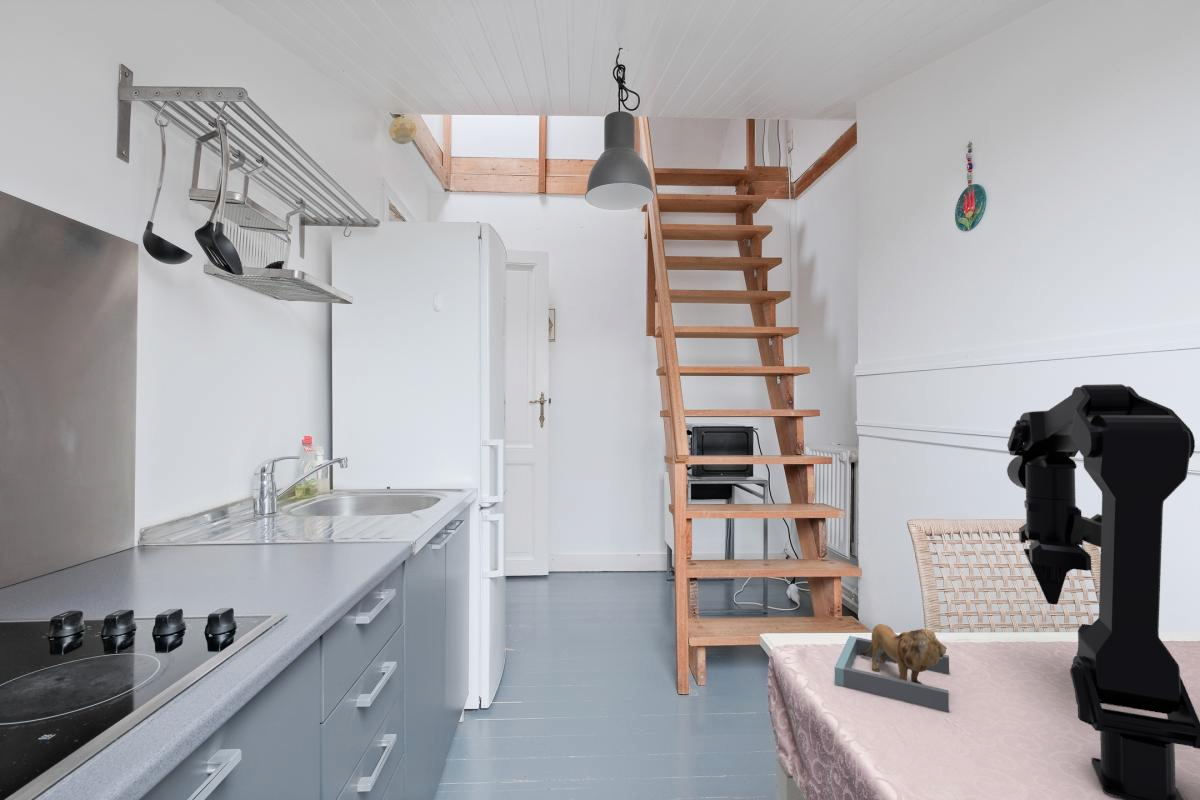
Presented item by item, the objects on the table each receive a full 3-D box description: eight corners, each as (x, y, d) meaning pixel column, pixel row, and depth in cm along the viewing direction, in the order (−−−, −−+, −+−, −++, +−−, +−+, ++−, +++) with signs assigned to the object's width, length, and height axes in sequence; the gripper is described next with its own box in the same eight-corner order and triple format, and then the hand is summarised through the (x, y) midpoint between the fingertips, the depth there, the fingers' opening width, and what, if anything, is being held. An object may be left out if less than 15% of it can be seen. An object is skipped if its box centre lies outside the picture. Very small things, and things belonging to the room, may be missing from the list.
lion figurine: (953, 697, 78) (952, 633, 78) (924, 703, 76) (923, 637, 77) (872, 654, 92) (872, 600, 92) (846, 659, 90) (846, 603, 90)
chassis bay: (948, 712, 74) (948, 693, 74) (834, 684, 82) (834, 667, 82) (949, 671, 86) (949, 655, 86) (849, 650, 93) (849, 635, 93)
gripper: (1142, 511, 70) (1145, 636, 69) (1107, 494, 86) (1110, 596, 85) (1031, 503, 76) (1033, 618, 75) (1017, 488, 92) (1019, 584, 91)
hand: (1052, 603), depth 82 cm, fingers closed
